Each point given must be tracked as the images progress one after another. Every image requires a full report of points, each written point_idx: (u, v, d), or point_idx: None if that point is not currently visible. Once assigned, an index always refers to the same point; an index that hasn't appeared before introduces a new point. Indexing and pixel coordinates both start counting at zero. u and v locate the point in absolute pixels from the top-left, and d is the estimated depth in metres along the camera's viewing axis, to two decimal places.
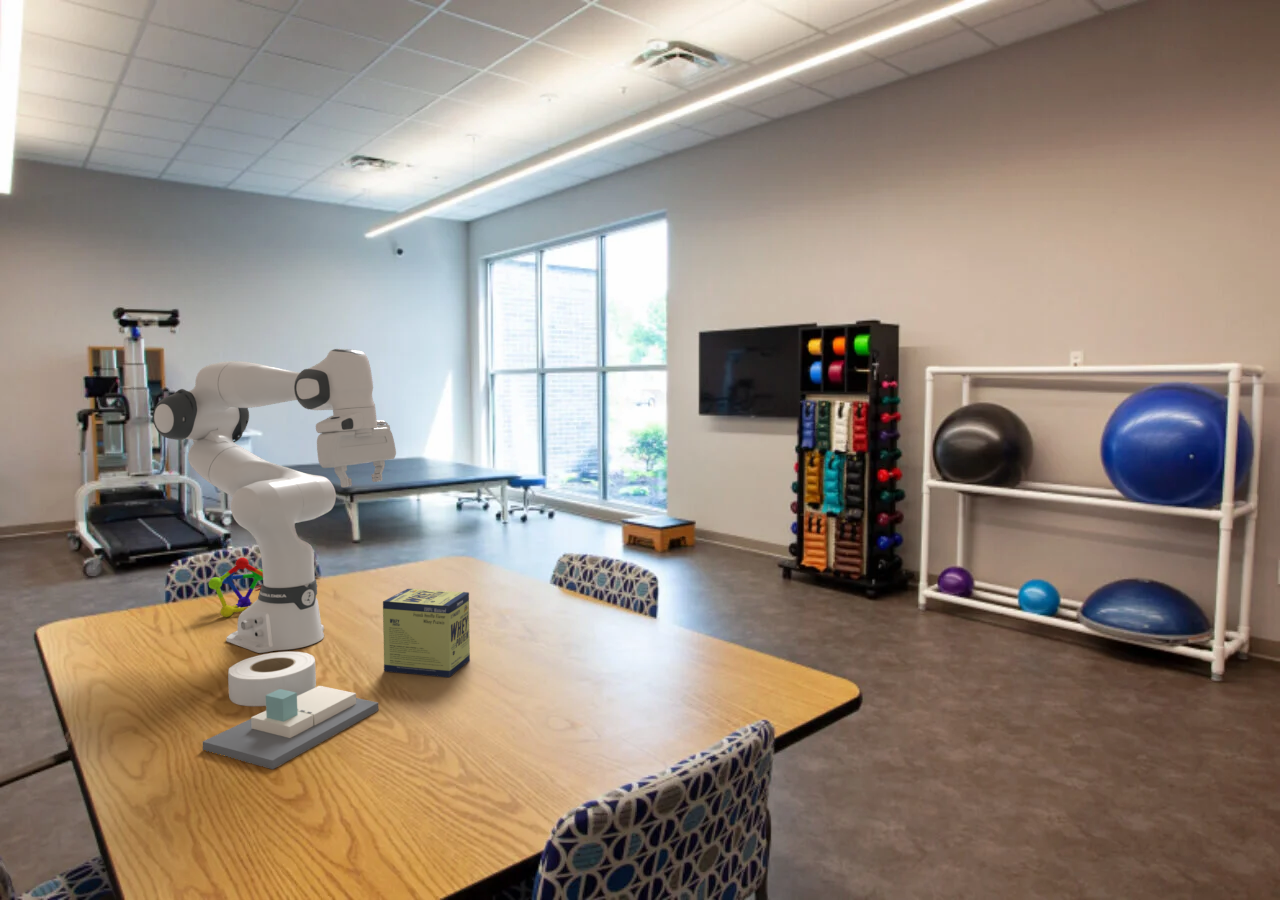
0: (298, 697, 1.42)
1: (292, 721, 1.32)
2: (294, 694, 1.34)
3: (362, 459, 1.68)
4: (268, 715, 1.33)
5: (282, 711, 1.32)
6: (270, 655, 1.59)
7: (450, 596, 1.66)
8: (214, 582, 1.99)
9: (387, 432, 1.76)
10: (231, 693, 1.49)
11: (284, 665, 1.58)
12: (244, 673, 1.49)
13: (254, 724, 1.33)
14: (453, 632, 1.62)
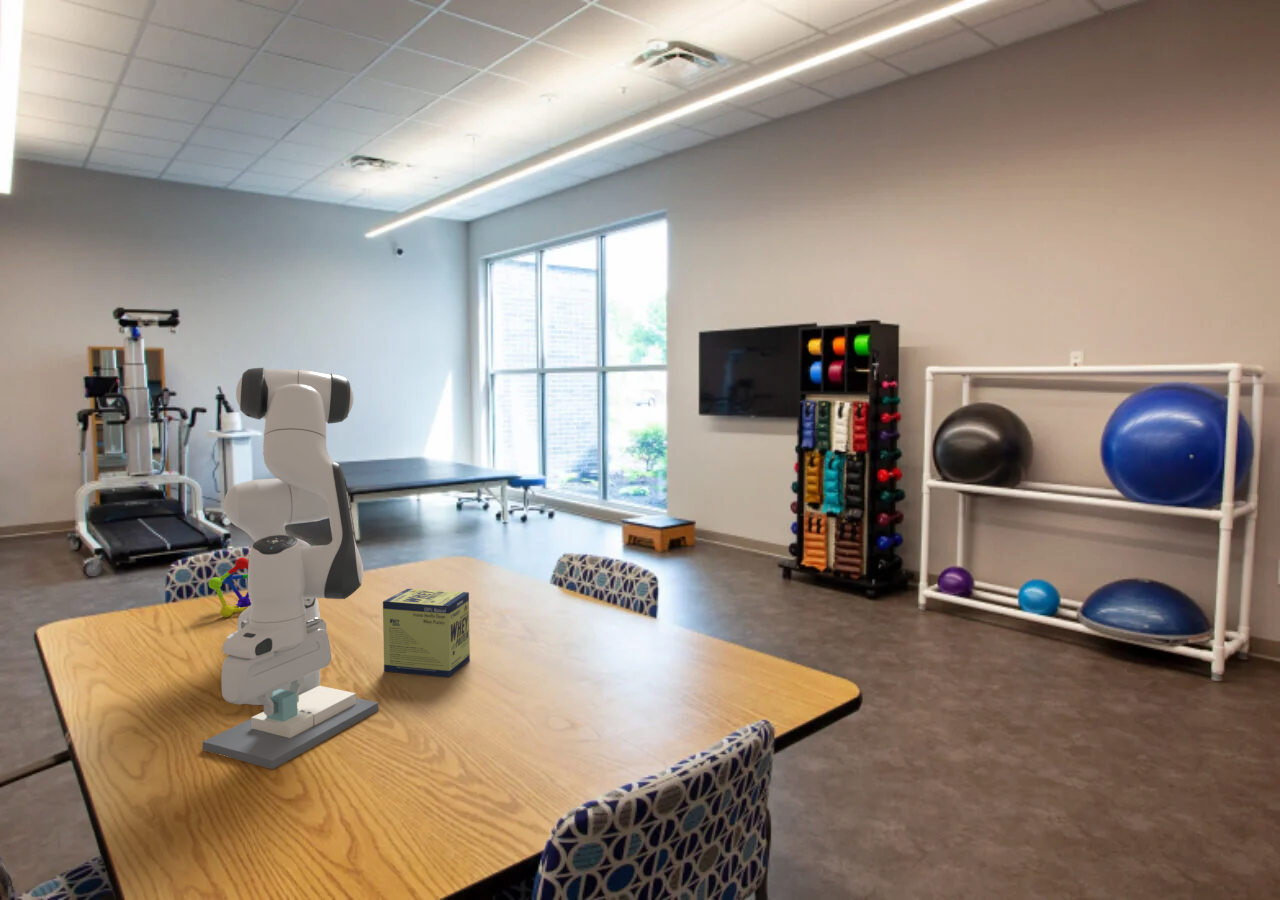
0: None
1: (292, 721, 1.32)
2: (294, 694, 1.34)
3: (283, 682, 1.32)
4: (268, 715, 1.33)
5: (282, 711, 1.32)
6: None
7: (450, 596, 1.66)
8: (213, 582, 1.99)
9: (321, 636, 1.39)
10: None
11: None
12: None
13: (254, 724, 1.33)
14: (453, 632, 1.62)
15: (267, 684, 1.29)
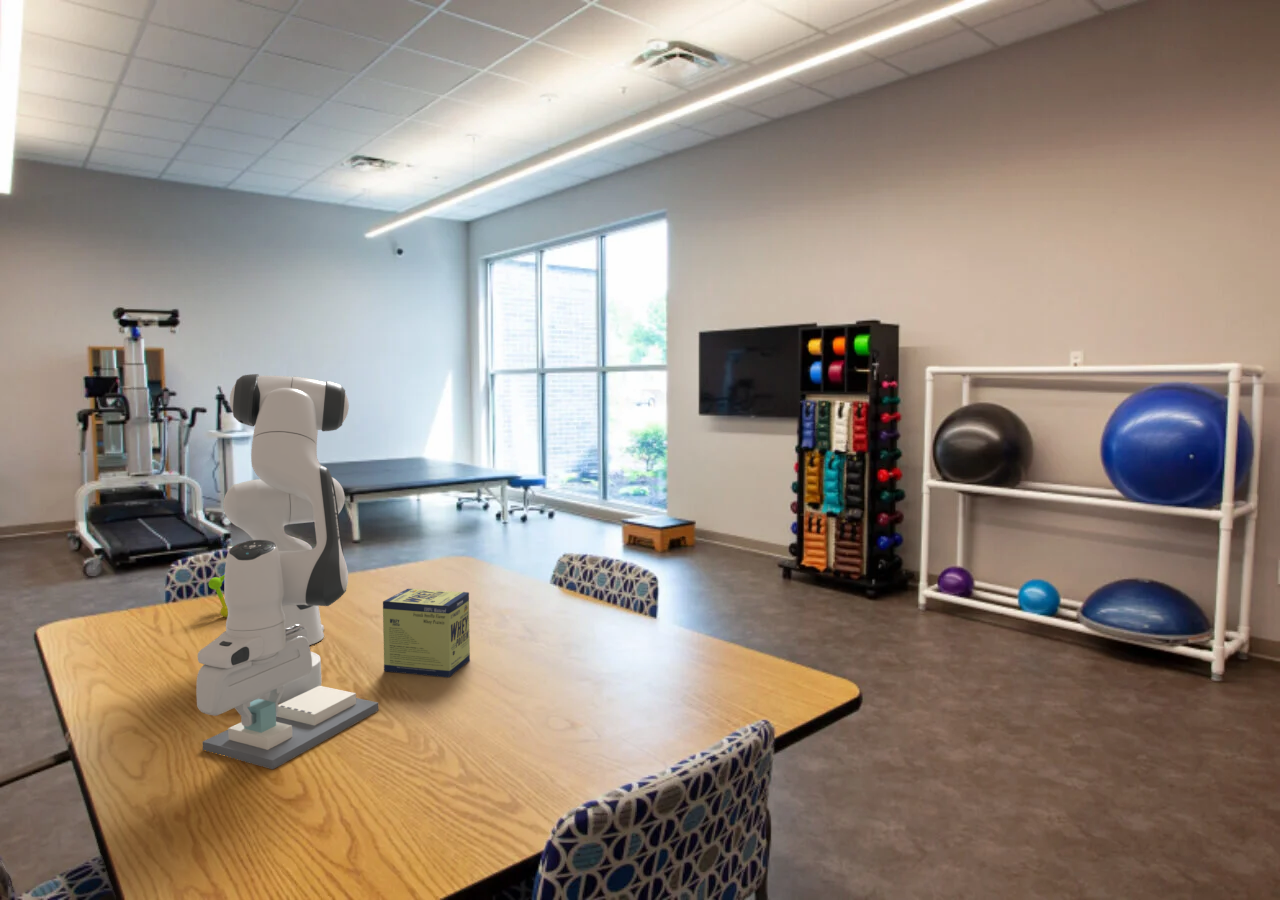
0: (298, 697, 1.42)
1: (270, 732, 1.28)
2: (272, 704, 1.30)
3: (261, 691, 1.28)
4: (246, 726, 1.29)
5: (260, 722, 1.28)
6: None
7: (450, 596, 1.66)
8: (213, 582, 1.99)
9: (301, 644, 1.35)
10: None
11: None
12: None
13: (231, 735, 1.29)
14: (453, 632, 1.62)
15: (244, 694, 1.25)
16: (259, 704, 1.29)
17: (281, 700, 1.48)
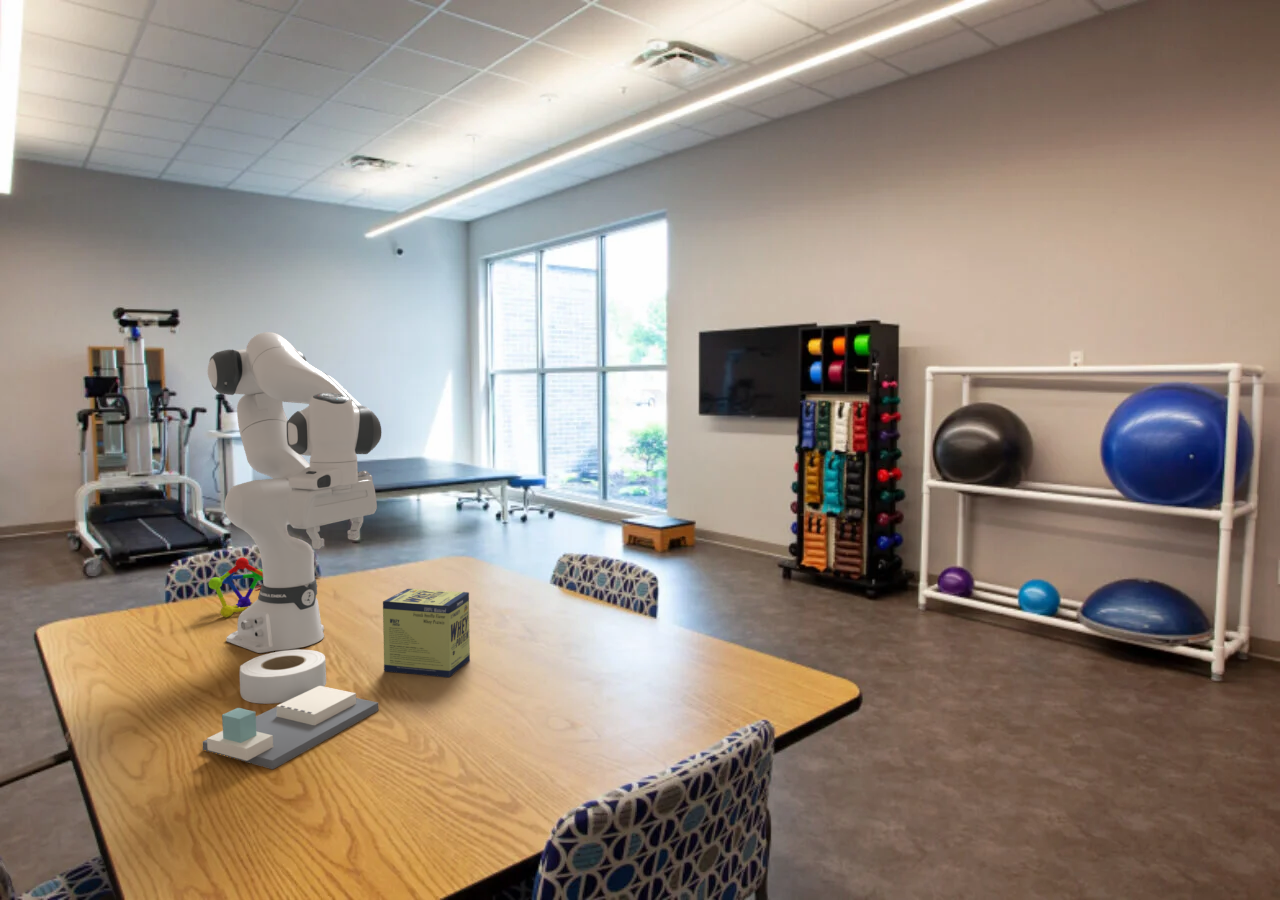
0: (298, 697, 1.42)
1: (250, 743, 1.24)
2: (252, 714, 1.26)
3: (338, 518, 1.53)
4: (225, 736, 1.26)
5: (239, 732, 1.24)
6: (281, 653, 1.60)
7: (450, 596, 1.66)
8: (214, 582, 1.99)
9: (369, 486, 1.60)
10: (242, 690, 1.50)
11: (294, 663, 1.59)
12: (255, 670, 1.50)
13: (210, 745, 1.26)
14: (453, 632, 1.62)
15: (326, 516, 1.50)
16: (239, 713, 1.26)
17: (286, 699, 1.49)
